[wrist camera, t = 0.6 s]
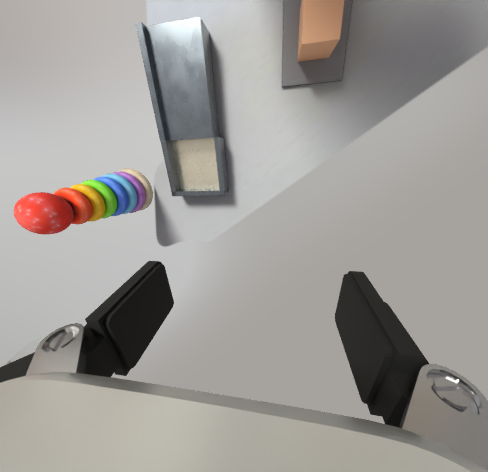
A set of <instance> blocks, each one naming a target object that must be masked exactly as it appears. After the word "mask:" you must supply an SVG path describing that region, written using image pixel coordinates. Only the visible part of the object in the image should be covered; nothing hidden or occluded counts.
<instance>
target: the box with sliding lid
mask: <svg viewBox="0 0 488 472" xmlns="http://www.w3.org/2000/svg"><path fill="white" fill-rule="evenodd" d="M135 24H136V29H137V34H138V38H139V43H140V48H141V53H142V57H143V62H144V67H145V71H146V76H147V81H148V85H149V90H150V95H151V100H152V104H153V109H154V113H155V118H156V123H157V128H158V132H159V137H160V141H161V144H162V149H163V154H164V159H165V163H166V168H167V173H168V178H169V182H170V187H171V192H172V196H208V195H225V194H226V193H227V192H228V191H229V190H228V179H227V167H226V156H225V144H224V138H221V137H219V130H218V120H217V110H216V99H215V89H214V79H213V68H212V58H211V48H210V37H209V31H208V30H207V28H206V26H205V25H204V23H203V21H202V20H201V18H200V17H196V18H190V19H185V20H179V21H174V22H168V23H162V24H157V25H151V26H145V25H144V24H143V23H142V22H138V23H135Z"/></svg>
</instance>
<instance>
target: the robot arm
mask: <svg viewBox="0 0 488 472" xmlns="http://www.w3.org/2000/svg"><path fill="white" fill-rule="evenodd" d="M173 304H174V301H173V297H172V293H171V289H170V286H169V282H168V278H167V274H166V270H165V267H164V265H163V264H162V263H161V262H158V261H149V262H147V263H146V264H145V265H144V266H143V267H142V268H141V269H140V270H138V271H137V272H136V273H135V274H134V275H133V276H132V277H131V278H130V279H129V280H128V281H127V282H125V283H124V284H123V285H122V286H121V287H120V288H119V289H118V290H117V291H115V293H113V294H112V295H111V296H110V297H109V298H108V299H107V300H106V301H105V302H104V303H102V304H101V305H100V306H99V307H98V308H97V309H96V310H95V311H94V312H93V313H91V314H90V315H89V316H88V317H87V318H86V319H85V320H86V322H87V324H86V325H85V326H83V325H82V324H78V323H75V324H69V325H66V326H63V327H61V328H59V329H57V330H55V331H53V332H52V333H50V334H49V335H48V336H46V337H45V338H44V339H43V340H42V341H41V342H40V344H39V345H38V347H37V349H36V351H35V352H34V353H32V354H30V355H28V356H25V357H23V358H21V359H18V360H16V361H14V362H12V363H9V364H7V365H5V366H2V367H1V368H0V472H488V401H487V400H486V398H485V396H484V395H483V394H482V393H481V392H480V391H479V390H478V388H477V387H476V386H475V385H473V384H472V383H471V382H470V381H469V380H467V379H466V378H465V377H463V376H461V375H460V374H458V373H457V372H455V371H453V370H451V369H449V368H447V367H444V366H440V365H437V364H429V363H428V361H427V360H426V358H425V357H424V355H423V354H422V353H421V351H420V350H419V348H418V347H417V345H416V344H415V342H414V341H413V340H412V338H411V337H410V335H409V334H408V332H407V331H406V329H405V328H404V327H403V325H402V324H401V322H400V321H399V319H398V318H397V316H396V315H395V314H394V312H393V311H392V309H391V308H390V306H389V305H388V304H387V303H385V302H383V300H382V299H381V298H380V296H379V294H378V293H377V291H376V290H375V288H374V287H373V285H372V284H371V282H370V281H369V279H368V278H367V277H366V275H365V274H364V272H355V271H354V272H353V271H349V272H348V274H345V275H344V277H343V282H342V286H341V291H340V296H339V300H338V304H337V309H336V313H335V321H336V324H337V328H338V331H339V334H340V337H341V340H342V343H343V346H344V349H345V352H346V355H347V358H348V361H349V364H350V367H351V370H352V373H353V376H354V379H355V382H356V385H357V388H358V391H359V394H360V397H361V400H362V402H364V403H366V404H367V405H368V408H369V411H370V414H372V415H377V416H382V417H383V419H384V422H385V424H381V423H377V422H373V421H369V420H364V419H359V418H354V417H348V416H343V415H338V414H332V413H327V412H321V411H315V410H310V409H304V408H298V407H292V406H286V405H280V404H274V403H268V402H262V401H256V400H250V399H244V398H238V397H232V396H225V395H219V394H213V393H207V392H200V391H194V390H188V389H182V388H176V387H169V386H163V385H157V384H150V383H144V382H137V381H131V380H123V379H118V378H111V376H112V374H113V373H114V372H115V374H118V375H124V376H126V375H127V374H128V372H129V371H130V369H131V368H133V367H134V366H135V365H136V364H137V362H138V361H139V359H140V358H141V356H142V354H143V353H144V351H145V350H146V348H147V347H148V345H149V343H150V342H151V340H152V339H153V337H154V336H155V334H156V332H157V331H158V329H159V328H160V326H161V325H162V323H163V321H164V320H165V318H166V317H167V315H168V314H169V312H170V311H171V309H172V307H173Z"/></svg>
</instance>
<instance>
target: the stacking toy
mask: <svg viewBox="0 0 488 472" xmlns="http://www.w3.org/2000/svg"><path fill="white" fill-rule="evenodd" d="M152 197H153V192H152V188H151V185H150V183H149V181H148V180H147V179H146V177H145V176H144V175H142V174H141V173H140V172H138V171H136V170H133V169H123V170H120V171H118V172H114V173H112V174H106V175H104V176H102V177H98V178H95V179H93V180H87V181H84V182H83V183H81V184H78V185H74V186H72V187H70V188H61V189H59V190H57V191H56V192H55V193H54V194H50V193H43V192H41V193H32V194H29V195H26V196H24V197H22V198H21V199H20V200H19V201H18V202H17V203H16V204H15V207H14V216H15V218H16V220H17V222H18V223H19V224H20V225H21V226H22V227H23V228H25V229H27V230H29V231H31V232H34V233H38V234H54V233H58V232H61V231H63V230H65V229H66V228H67V227H68V226H69V225H70V224H71V223H72V224H82V223H85V222H87V221H96V220H99V219H100V218H107V217H109V216H117V215H120V214H126V213H133V212H136V211H139V210H143V209H145V208H147V207H148V206H149V205H150V203H151V201H152Z"/></svg>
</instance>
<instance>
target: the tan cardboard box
mask: <svg viewBox="0 0 488 472" xmlns="http://www.w3.org/2000/svg"><path fill="white" fill-rule="evenodd" d="M343 8H344V0H302V1H301V7H300V19H299V39H298V60H297V62H299V61H307V60H315V59H323V58H329V56H330V55H331V53H332V51H333V50H334V48H335V46H336V45H337V43H338V41H339V40H340V34H341V25H342V16H343Z"/></svg>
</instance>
